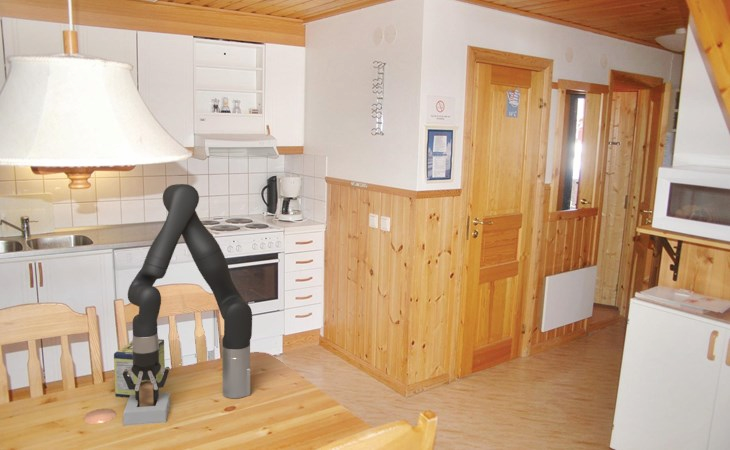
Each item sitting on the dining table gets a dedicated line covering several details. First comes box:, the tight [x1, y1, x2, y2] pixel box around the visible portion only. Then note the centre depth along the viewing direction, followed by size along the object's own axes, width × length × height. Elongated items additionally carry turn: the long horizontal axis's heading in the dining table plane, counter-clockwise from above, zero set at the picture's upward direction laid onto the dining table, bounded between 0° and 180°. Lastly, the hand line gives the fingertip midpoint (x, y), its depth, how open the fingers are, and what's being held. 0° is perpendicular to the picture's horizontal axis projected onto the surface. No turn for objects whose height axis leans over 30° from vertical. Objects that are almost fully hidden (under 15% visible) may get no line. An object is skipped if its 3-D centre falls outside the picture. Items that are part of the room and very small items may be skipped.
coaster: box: [83, 408, 117, 425], centre depth 175 cm, size 9×9×1 cm
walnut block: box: [139, 381, 155, 407], centre depth 176 cm, size 4×4×10 cm
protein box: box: [113, 338, 166, 399], centre depth 194 cm, size 10×16×16 cm
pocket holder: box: [122, 392, 171, 427], centre depth 177 cm, size 12×12×4 cm
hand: (147, 400), depth 176 cm, fingers closed on walnut block, 4 cm apart
